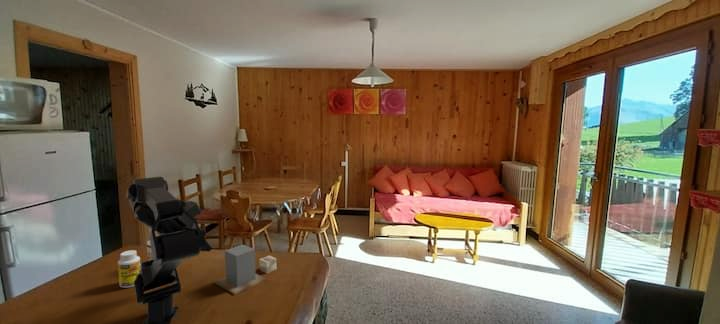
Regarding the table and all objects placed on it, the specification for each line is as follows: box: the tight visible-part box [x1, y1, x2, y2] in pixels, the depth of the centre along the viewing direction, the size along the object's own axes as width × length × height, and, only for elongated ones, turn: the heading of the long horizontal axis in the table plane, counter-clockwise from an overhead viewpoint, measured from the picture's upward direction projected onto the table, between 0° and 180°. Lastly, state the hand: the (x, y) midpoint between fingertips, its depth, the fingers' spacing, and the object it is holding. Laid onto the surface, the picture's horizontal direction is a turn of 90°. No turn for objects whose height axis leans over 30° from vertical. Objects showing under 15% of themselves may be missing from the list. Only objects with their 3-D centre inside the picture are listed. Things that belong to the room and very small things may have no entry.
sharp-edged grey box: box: [224, 244, 257, 287], centre depth 97 cm, size 6×6×10 cm
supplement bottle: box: [117, 249, 142, 289], centre depth 94 cm, size 6×6×10 cm
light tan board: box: [214, 273, 267, 296], centre depth 97 cm, size 11×11×1 cm
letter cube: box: [259, 255, 278, 274], centre depth 106 cm, size 4×4×4 cm
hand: (202, 245), depth 91 cm, fingers open, 9 cm apart
